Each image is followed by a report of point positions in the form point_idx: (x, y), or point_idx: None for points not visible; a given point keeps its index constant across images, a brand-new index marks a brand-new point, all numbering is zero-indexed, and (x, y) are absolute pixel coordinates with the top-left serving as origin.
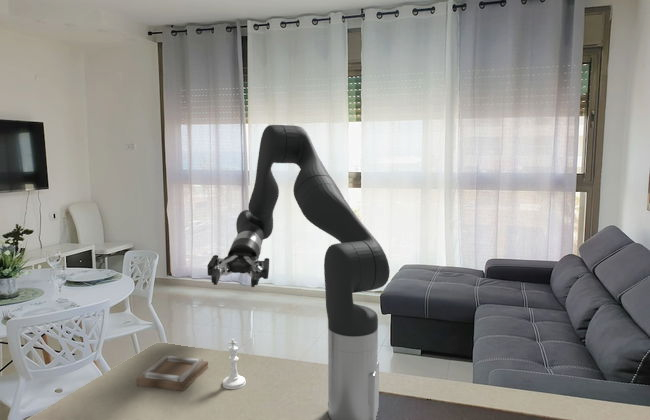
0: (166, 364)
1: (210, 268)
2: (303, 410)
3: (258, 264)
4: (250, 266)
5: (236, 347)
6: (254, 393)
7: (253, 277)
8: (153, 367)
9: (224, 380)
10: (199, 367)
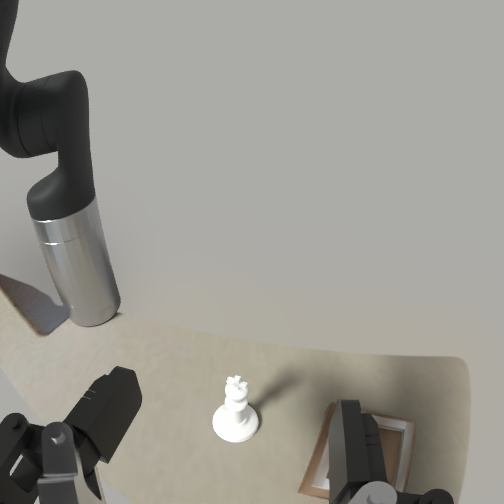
0: (387, 475)
1: (419, 498)
2: (141, 326)
3: None
4: (84, 495)
5: (228, 386)
6: (200, 383)
7: (114, 378)
8: (404, 447)
9: (255, 419)
10: (315, 465)
